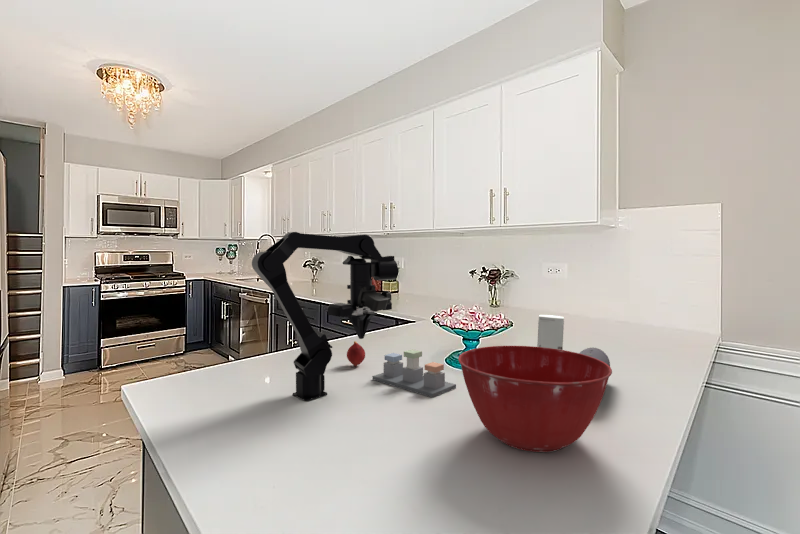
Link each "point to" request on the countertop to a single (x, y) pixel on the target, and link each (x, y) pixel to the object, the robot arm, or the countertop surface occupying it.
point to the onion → (356, 354)
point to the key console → (414, 380)
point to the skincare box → (550, 331)
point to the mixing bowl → (534, 393)
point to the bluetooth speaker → (596, 354)
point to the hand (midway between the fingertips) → (361, 338)
